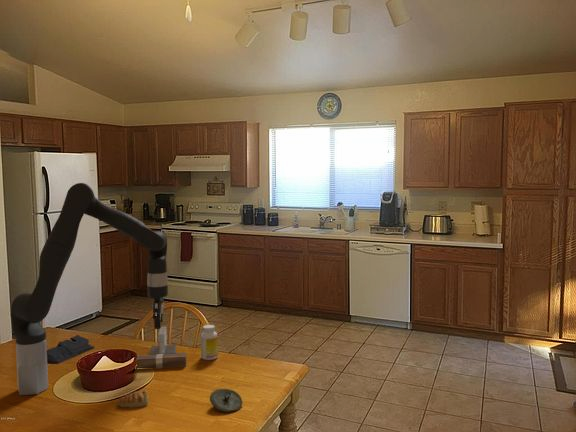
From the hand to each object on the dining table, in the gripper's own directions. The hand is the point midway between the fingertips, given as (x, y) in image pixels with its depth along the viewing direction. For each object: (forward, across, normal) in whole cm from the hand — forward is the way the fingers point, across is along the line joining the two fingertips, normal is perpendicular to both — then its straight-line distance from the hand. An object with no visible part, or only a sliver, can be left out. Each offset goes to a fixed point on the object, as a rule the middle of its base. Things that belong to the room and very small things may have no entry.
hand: (158, 325), depth 187 cm
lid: (+16, -38, -24) cm, 48 cm away
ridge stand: (+16, +13, 0) cm, 21 cm away
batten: (+16, 0, 0) cm, 16 cm away
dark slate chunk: (+17, +21, +40) cm, 49 cm away
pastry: (+16, -31, +5) cm, 35 cm away
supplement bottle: (+16, +6, -19) cm, 26 cm away
